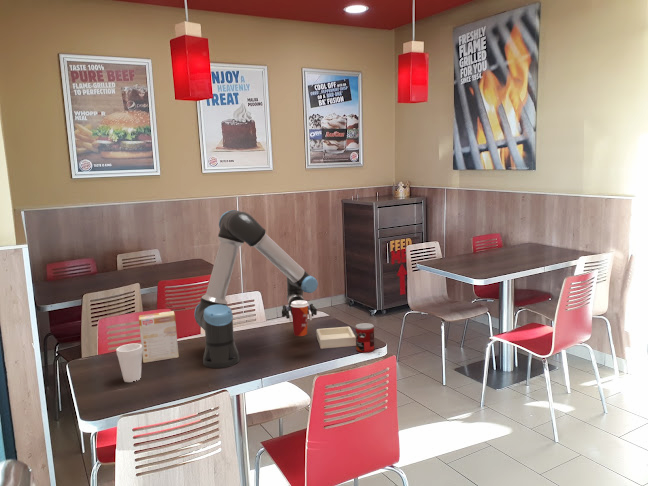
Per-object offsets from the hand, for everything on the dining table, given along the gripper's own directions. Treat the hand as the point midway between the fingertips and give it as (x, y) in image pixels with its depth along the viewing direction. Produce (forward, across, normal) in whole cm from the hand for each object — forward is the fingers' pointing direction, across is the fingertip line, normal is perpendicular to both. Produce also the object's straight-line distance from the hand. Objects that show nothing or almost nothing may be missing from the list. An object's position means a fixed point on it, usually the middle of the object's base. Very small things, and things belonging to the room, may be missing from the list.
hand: (300, 317), depth 219 cm
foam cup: (+5, +68, -20) cm, 71 cm away
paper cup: (-5, 0, -9) cm, 10 cm away
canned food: (-6, -28, -18) cm, 34 cm away
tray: (-20, -17, -18) cm, 32 cm away
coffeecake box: (-17, +61, -19) cm, 66 cm away
